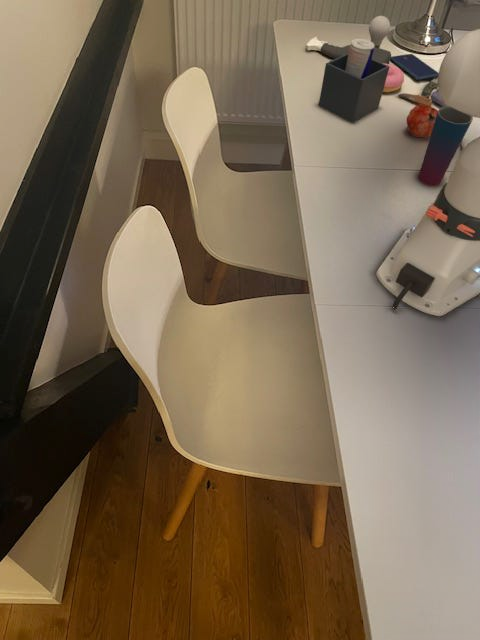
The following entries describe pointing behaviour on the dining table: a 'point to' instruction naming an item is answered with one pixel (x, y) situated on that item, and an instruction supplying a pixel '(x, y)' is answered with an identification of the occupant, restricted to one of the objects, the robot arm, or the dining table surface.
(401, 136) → the dining table surface
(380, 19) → the light bulb
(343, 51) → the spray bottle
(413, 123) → the orange-red stemmed round figurine
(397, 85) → the doughnut
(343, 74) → the trash bin
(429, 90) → the knife
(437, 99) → the flask
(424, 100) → the stone
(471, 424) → the dining table surface
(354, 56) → the beverage can
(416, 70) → the smartphone
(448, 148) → the cup
